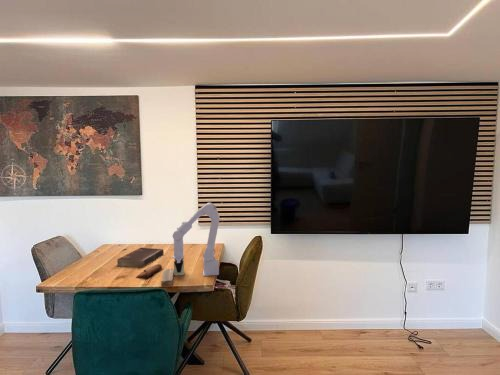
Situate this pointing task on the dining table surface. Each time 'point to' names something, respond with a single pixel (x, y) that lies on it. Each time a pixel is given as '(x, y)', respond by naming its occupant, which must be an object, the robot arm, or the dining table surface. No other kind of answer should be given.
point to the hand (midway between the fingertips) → (179, 270)
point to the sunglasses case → (149, 271)
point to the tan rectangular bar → (167, 277)
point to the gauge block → (179, 272)
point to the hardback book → (140, 257)
